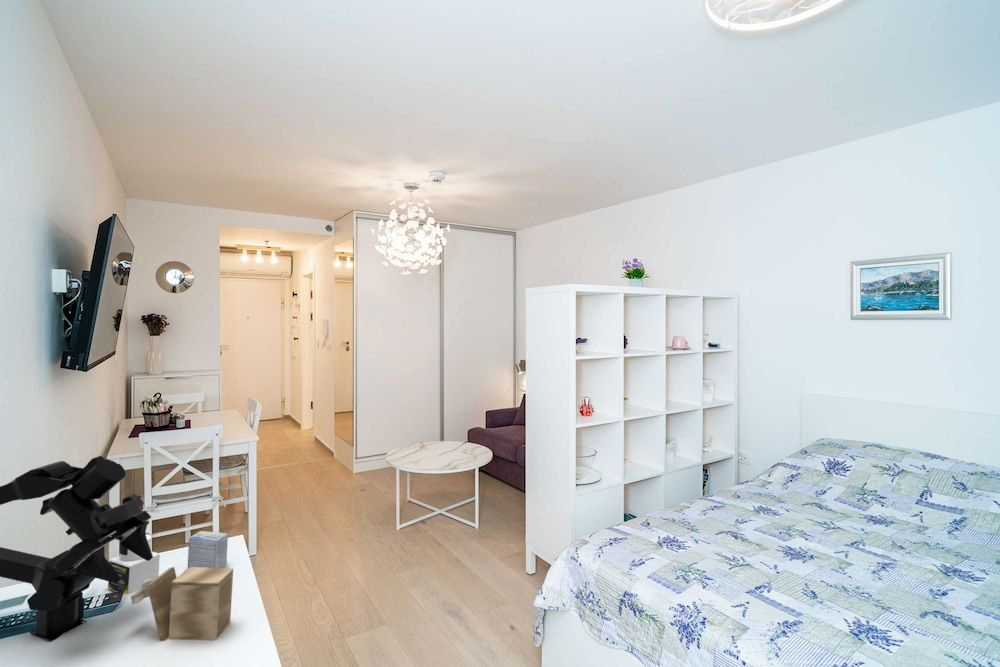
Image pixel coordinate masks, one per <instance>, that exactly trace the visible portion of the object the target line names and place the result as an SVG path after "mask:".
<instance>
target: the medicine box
mask: <svg viewBox="0 0 1000 667" xmlns="http://www.w3.org/2000/svg"><path fill="white" fill-rule="evenodd" d="M228 537H229V534H228V533H225V532H216V531H207V530H205V531H204V530H200V531H198V532H196V533H195V534H193V535H191V536H190V537H188V548H187V549H188V550H187V551H188V553H187V569H188V568H189V567H204V568H225V567H226V566H227V564H228V560H227V559H228V540H229V538H228ZM225 565H226V566H225ZM224 566H225V567H224ZM187 569H186V570H187Z"/></svg>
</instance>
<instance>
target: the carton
mask: <svg viewBox="0 0 1000 667" xmlns="http://www.w3.org/2000/svg"><path fill="white" fill-rule="evenodd" d="M187 568H188V567H187ZM176 577H177V578H176V579H175V580H173V581H172V589H171V607H170V625H169V637H168V640H187V641H189V640H191V641H216V640H217V639H218V638H219V636H220V635H221V634H222V633H223V632H224V631H225V629H226V628H227V627H228V626H229V624H231V618H232V617H231V615H232V599H233V595H232V594H233V580H234V579H233V578H234V568H230V567H223V568H204V567H189V568H188V569H185V570H184V571H183V572H182V573H181V574H179V575H178V576H176Z"/></svg>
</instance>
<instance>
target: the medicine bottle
mask: <svg viewBox="0 0 1000 667" xmlns="http://www.w3.org/2000/svg"><path fill="white" fill-rule="evenodd" d="M145 533H146V538H147V541H148V544H149V547H150V550H151V553H152V555H153V558H152V559H151V560H149V561H147V560H145V559H143V558H141V557H140V556H138V555H136V554H135V553H133V552H132V551H130V550H128V549H127V548H125V547H123V546H122V545H120V543H121V542H122V541H123V540H122V541H121V540H119V552H118V553H119V554H118V556H114V557H112V558H110V560H109V561H108V562H109V563H110V564H111V565H112V567H113V568H114V569H115V570H116V571H117V573H118V574H119V576H120V577H121V580H120V581H119V582H118V583H113V582H109V581H107V582H108V583H107V589H108V590H110V591H112V592H115V593H118V592H120V591H124V593H123V594H125V595H129V594H133V593H135V592H137V591H138V590H140V589H141V588H142V586H141V583H143V582H144V581H145V580H147V579H150V578H154V577H158V576H160V573H159V571H160V556H161V555H160V553H159V552H155V551H153V550H152V538H153V536H152V534H150V533H148V532H145ZM120 593H121V592H120Z"/></svg>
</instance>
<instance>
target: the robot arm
mask: <svg viewBox="0 0 1000 667" xmlns="http://www.w3.org/2000/svg"><path fill="white" fill-rule="evenodd" d="M125 477H126V470H125V468H124V467H123V465H121V464H120V463H117V462H116V461H114V460H110V459H105V458H104V457H103V456H102V455H98V456H95V457H93V458H91V459H90V460H89V461H88V462H87V464H86V465H85V466H84V467H79V466H74V465H73V466H72V465H70V463H68V462H66V461H65V460H63V461H60V460H59V461H56V462H55V461H54V462H52V463H48V464H46V465H43V466H39V467H37V468H33V469H30V470H28V471H27V472H24V473H23V474H20V475H19V476H17V477H15V478H14V479H12V480H11V481H10V482H8V483H6V484H3V485H1V486H0V506H1V505H4V504H8V503H10V502H13V501H14V502H15V501H26V500H28V501H29V500H32V499H39V498H42V497H45V496H49V495H50V494H54V493H55V492H58V491H59V492H58V493H56V495H54V497H53V496H51V497H49V498H45V499H44V500H42V506H41V508H40V511H39V514H40V515H41V516H44V515H46V514H48V513H52V512H54V513H55V514H56V515H57V516H58V517H59V518H60V519H61V520H62V522H64V523H65V525H66V526H67V527H68V529H67V530H65V533H66V535H67V536H70V535H71V536H72V535H73V534H75V535H76V536H77V538H79V540H81V541H79V542H78V543H75V544H74V545H73V546H71V548H69V549H67V550H64V551H63V552H61V553H59V554H58V555H55V556H54V557H46V556H41V555H39V554H38V555H36V554H33V553H28V552H23V551H19V550H14V549H10V548H6V547H1V546H0V578H3V579H7V580H12V581H16V582H21V583H26V584H29V585H32V587H33V589H34V590H35V593H33V594H32V595H31V596H29V598H28V599H27V606H28V607H29V610H30V611H36V618H35V628H34V629H31V630H30V631H29V635H31V636H34V637H36V638H40V639H42V640H45V641H47V642H53V641H55V640H57V639H59V638H60V637H62V635H64V634H65V633H68V632H70V631H72V630H73V629H76V628H78V627H79V626H82V625H84V624H85V623H87V622H88V621H87V620H86V619H83V618H84V616H85V600H86V599H85V598H84V597H83V596H84V593H83V592H84V591H85V590H88V589H89V588H90V585H91V583H92V582H93V581H94V580H95V579H98V580H101V581H106V582H108V581H109V582H113V583H118V582H119V581H120V580H121V577H120V576H119V574H118V573H117V571H116V570H115V569H114V568H113V567H112V565H111V564H110V563H109V562H110V561H108V559H107V558H106V555H105V548H106V547H105V546H106V545H108V544H109V543H111V542H112V541H114V540H116V541H122V540H123V541H122V542H121V543H120V542H119V546H120V545H122V546H123V547H125V548H127V549H128V550H130V551H132V552H133V553H135V554H136V555H138V556H140V557H141V558H143V559H145V560H147V561H149V560H151V559H152V558H153V555H152V553H151V551H152V549H151V550H150V547H149V544H148V541H147V538H146V533H147V528H148V525H149V524H150V519H151V518H152V516H151V515H150V513H148V512H147V511H146V510H141V507H143V504H144V500H143V499H141V497H139V495H137V494H136V493H133V494H129V495H128V496H126V497H124V498H123V499H121V500H122V501H121V504H119V505H115V506H114V507H113V506H111V505H109V504H107V503H105V504H103V505H100V504H99V503H98V501H96V500H98V499H101V498H103V497H104V496H105V495H106V494H108V492H110V491H111V490H112V489H113V488H114V487H115V486H116V485H118V484H119V483H120V482H121V481H122V480H123V479H124V478H125ZM70 486H71V487H70ZM68 487H70V488H68Z"/></svg>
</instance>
